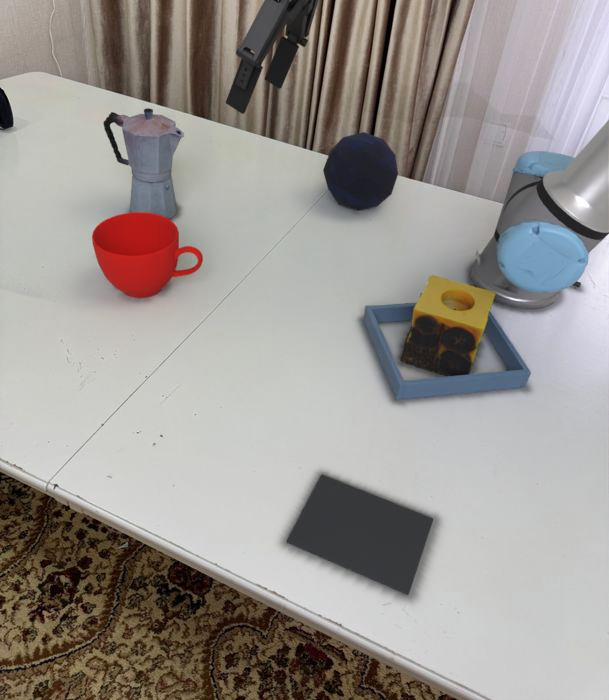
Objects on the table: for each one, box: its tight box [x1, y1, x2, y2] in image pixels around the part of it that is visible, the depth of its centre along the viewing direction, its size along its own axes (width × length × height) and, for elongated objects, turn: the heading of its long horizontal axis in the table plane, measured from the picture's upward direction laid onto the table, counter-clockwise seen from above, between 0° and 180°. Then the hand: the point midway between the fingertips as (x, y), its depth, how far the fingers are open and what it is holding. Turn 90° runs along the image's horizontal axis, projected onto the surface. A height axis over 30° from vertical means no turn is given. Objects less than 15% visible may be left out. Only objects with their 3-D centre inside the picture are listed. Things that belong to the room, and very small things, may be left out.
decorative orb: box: [322, 131, 399, 211], centre depth 123 cm, size 14×15×15 cm
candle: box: [399, 274, 495, 377], centre depth 91 cm, size 10×10×10 cm
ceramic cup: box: [91, 212, 204, 299], centre depth 98 cm, size 13×17×10 cm
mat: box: [286, 474, 434, 596], centre depth 70 cm, size 14×10×1 cm
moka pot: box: [102, 107, 185, 220], centre depth 113 cm, size 10×15×20 cm, turn 78°
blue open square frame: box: [362, 302, 532, 401], centre depth 93 cm, size 20×18×3 cm
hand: (255, 95), depth 87 cm, fingers open, 13 cm apart
